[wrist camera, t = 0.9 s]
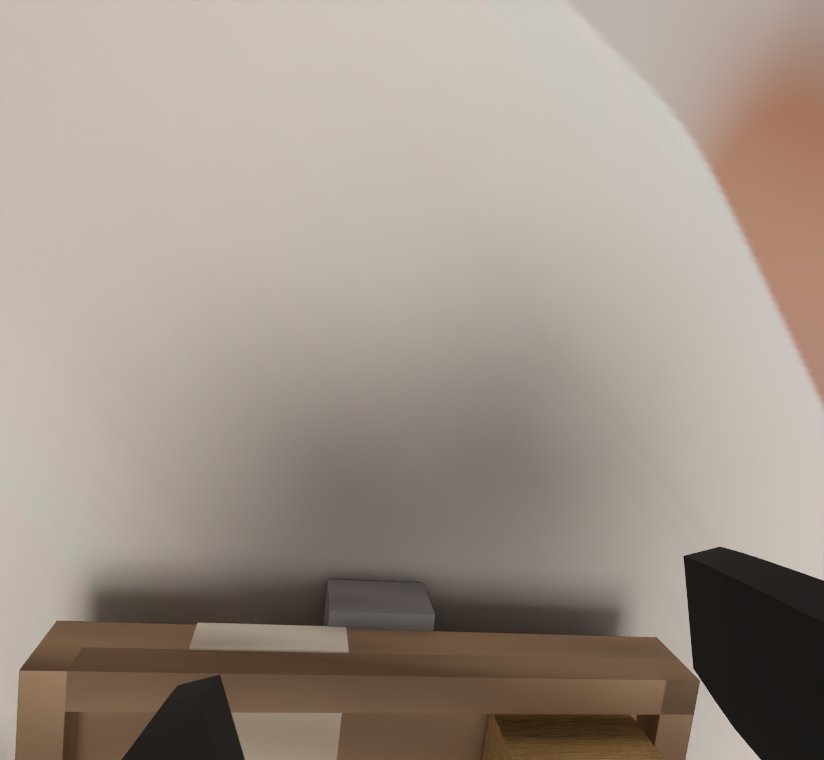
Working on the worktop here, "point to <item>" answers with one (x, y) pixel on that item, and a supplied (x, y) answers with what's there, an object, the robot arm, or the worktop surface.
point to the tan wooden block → (566, 737)
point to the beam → (342, 682)
